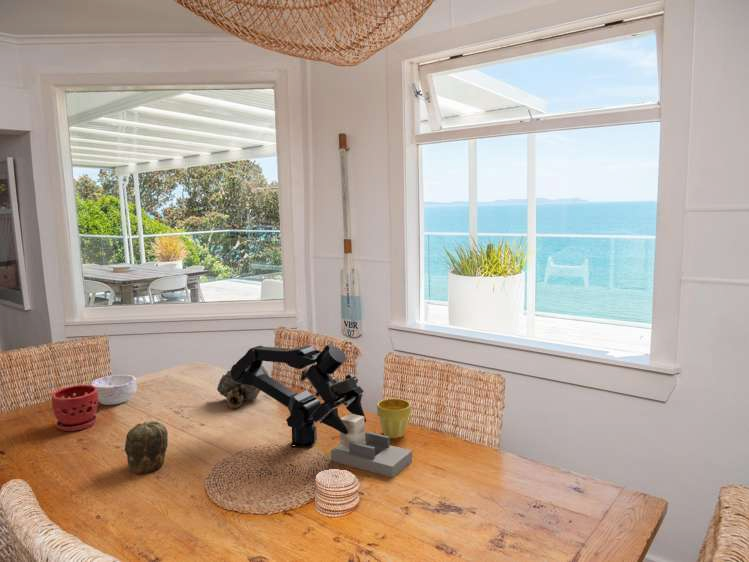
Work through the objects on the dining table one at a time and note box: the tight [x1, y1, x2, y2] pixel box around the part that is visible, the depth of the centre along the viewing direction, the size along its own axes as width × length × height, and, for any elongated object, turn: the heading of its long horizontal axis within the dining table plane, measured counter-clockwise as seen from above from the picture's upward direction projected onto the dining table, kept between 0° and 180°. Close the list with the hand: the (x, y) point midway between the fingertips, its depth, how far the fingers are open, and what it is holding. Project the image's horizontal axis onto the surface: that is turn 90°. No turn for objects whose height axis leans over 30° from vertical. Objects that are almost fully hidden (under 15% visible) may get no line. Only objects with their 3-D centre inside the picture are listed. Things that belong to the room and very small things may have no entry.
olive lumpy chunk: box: [124, 420, 169, 475], centre depth 147 cm, size 11×11×12 cm
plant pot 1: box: [51, 384, 99, 432], centre depth 176 cm, size 13×13×12 cm
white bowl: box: [90, 374, 138, 406], centre depth 200 cm, size 15×15×8 cm
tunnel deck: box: [330, 431, 413, 478], centre depth 149 cm, size 20×11×6 cm, turn 59°
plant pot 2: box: [376, 398, 412, 439], centre depth 167 cm, size 10×10×10 cm
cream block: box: [339, 412, 366, 449], centre depth 152 cm, size 5×5×8 cm
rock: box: [216, 364, 271, 409], centre depth 196 cm, size 18×14×15 cm
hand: (356, 427), depth 151 cm, fingers open, 9 cm apart
